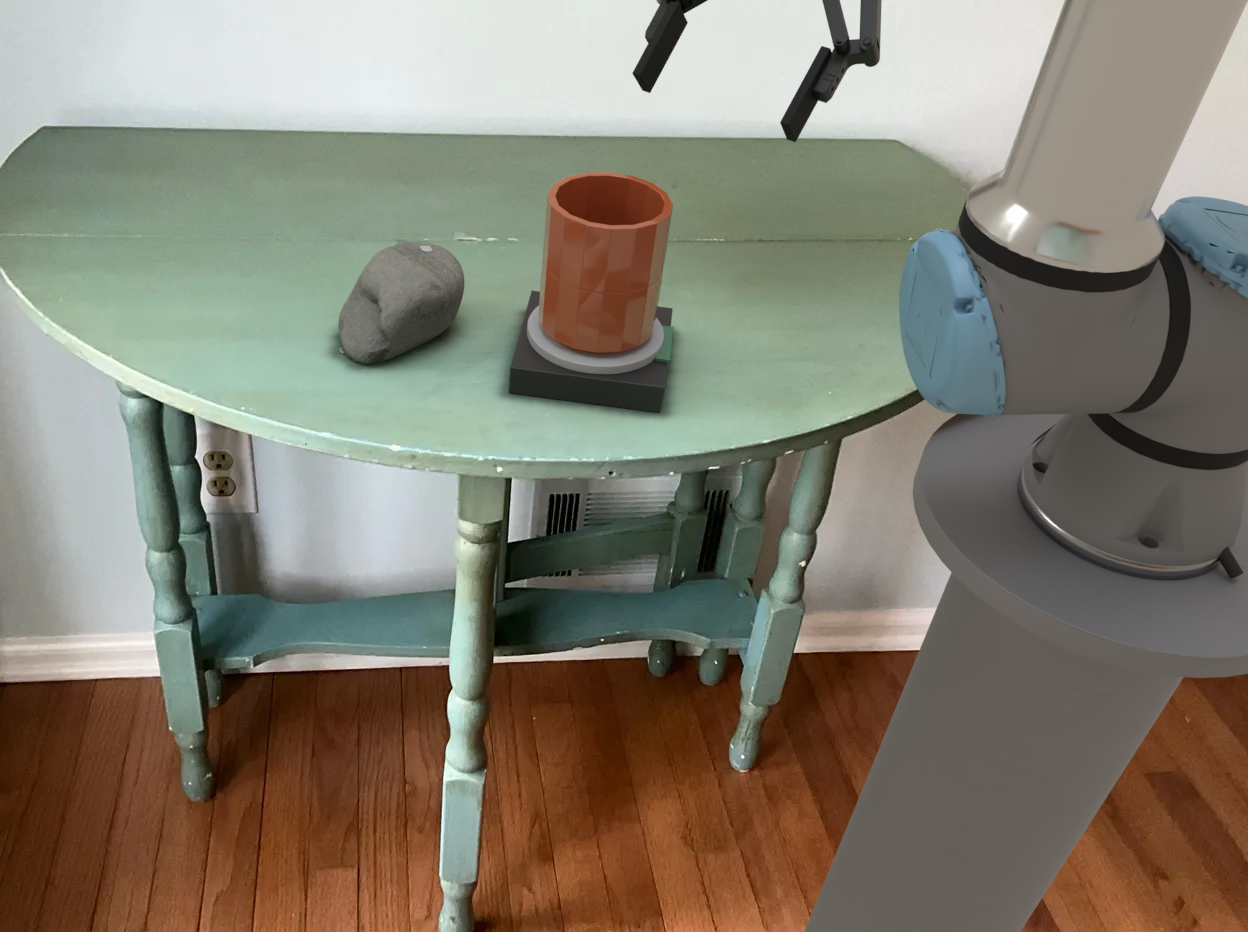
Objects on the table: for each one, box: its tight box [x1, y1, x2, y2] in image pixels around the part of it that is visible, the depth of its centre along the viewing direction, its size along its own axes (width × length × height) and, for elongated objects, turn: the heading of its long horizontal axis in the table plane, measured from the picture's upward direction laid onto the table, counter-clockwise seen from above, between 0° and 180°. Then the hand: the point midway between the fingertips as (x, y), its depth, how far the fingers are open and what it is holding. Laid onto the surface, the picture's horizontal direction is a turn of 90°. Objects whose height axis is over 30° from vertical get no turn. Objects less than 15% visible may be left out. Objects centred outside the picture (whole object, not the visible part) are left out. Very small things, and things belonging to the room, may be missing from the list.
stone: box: [337, 241, 465, 365], centre depth 98 cm, size 9×9×10 cm
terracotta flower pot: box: [538, 171, 674, 353], centre depth 92 cm, size 9×9×11 cm
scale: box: [508, 290, 674, 413], centre depth 96 cm, size 12×12×3 cm
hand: (711, 107), depth 94 cm, fingers open, 13 cm apart
